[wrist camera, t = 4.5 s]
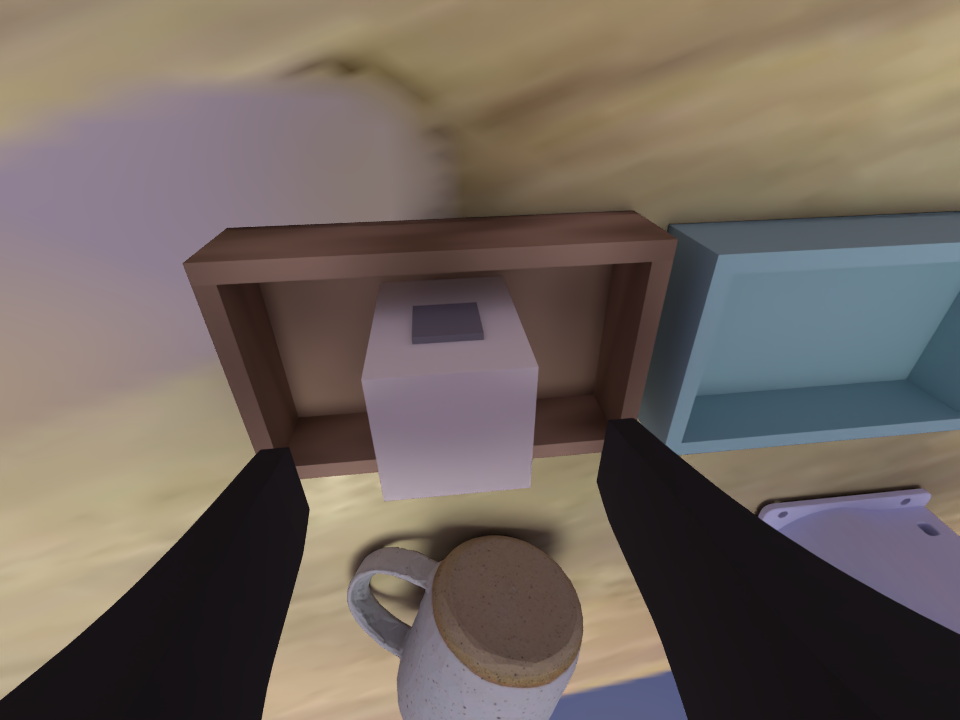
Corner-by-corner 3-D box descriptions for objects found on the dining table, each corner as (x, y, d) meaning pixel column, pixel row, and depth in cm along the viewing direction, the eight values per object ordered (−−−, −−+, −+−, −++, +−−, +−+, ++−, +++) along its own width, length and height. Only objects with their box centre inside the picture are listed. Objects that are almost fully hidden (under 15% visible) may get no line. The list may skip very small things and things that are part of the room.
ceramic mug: (569, 527, 23) (622, 701, 17) (526, 614, 27) (556, 782, 21) (359, 511, 21) (327, 703, 15) (347, 609, 25) (317, 792, 19)
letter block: (502, 270, 15) (539, 360, 10) (501, 375, 17) (530, 487, 12) (379, 276, 14) (359, 372, 10) (394, 383, 17) (384, 501, 12)
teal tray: (1009, 209, 16) (1118, 234, 14) (903, 384, 20) (972, 428, 18) (669, 224, 15) (718, 254, 12) (630, 406, 19) (661, 456, 17)
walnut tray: (633, 210, 15) (678, 239, 12) (602, 399, 19) (630, 449, 16) (226, 228, 14) (182, 263, 11) (288, 423, 18) (266, 482, 15)
